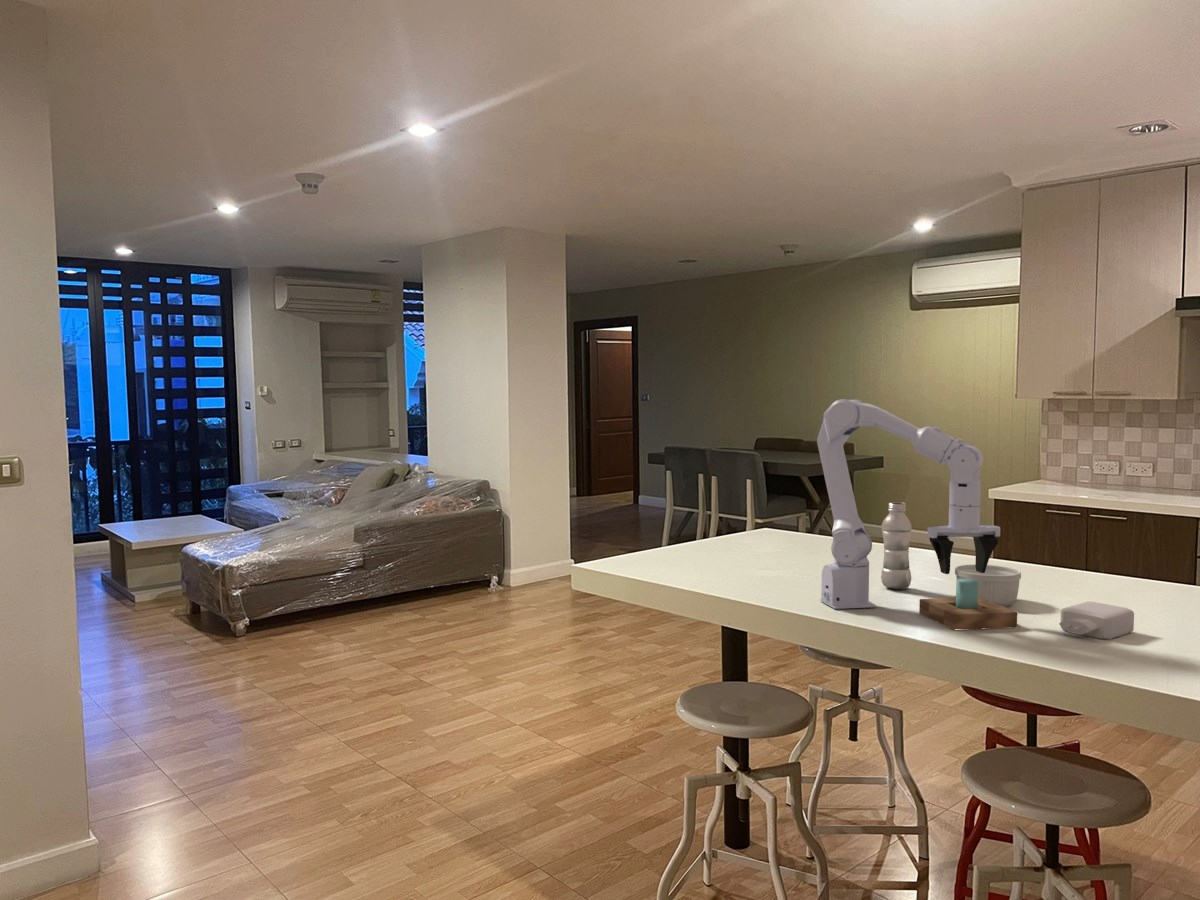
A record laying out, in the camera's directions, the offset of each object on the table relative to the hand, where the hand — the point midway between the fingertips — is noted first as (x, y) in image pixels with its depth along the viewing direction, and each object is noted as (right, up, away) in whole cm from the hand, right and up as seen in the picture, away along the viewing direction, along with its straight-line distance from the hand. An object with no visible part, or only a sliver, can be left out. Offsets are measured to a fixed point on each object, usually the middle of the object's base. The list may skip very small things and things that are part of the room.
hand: (962, 572), depth 171 cm
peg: (0, -9, -1) cm, 10 cm away
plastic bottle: (-4, -8, +28) cm, 29 cm away
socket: (0, -9, -1) cm, 9 cm away
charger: (+19, -10, -11) cm, 24 cm away
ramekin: (+12, -9, +16) cm, 22 cm away
